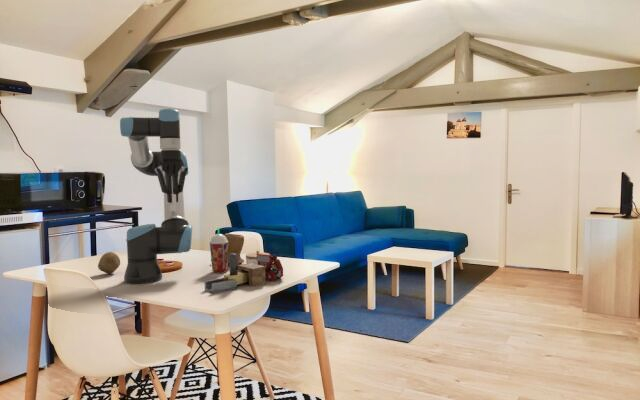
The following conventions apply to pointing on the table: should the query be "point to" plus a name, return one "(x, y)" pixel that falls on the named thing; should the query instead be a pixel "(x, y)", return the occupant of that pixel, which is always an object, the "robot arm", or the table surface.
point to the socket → (254, 273)
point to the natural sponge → (109, 262)
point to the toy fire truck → (270, 266)
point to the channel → (220, 285)
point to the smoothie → (219, 253)
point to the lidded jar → (253, 257)
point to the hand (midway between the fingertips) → (173, 210)
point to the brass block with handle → (236, 271)
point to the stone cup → (235, 245)
